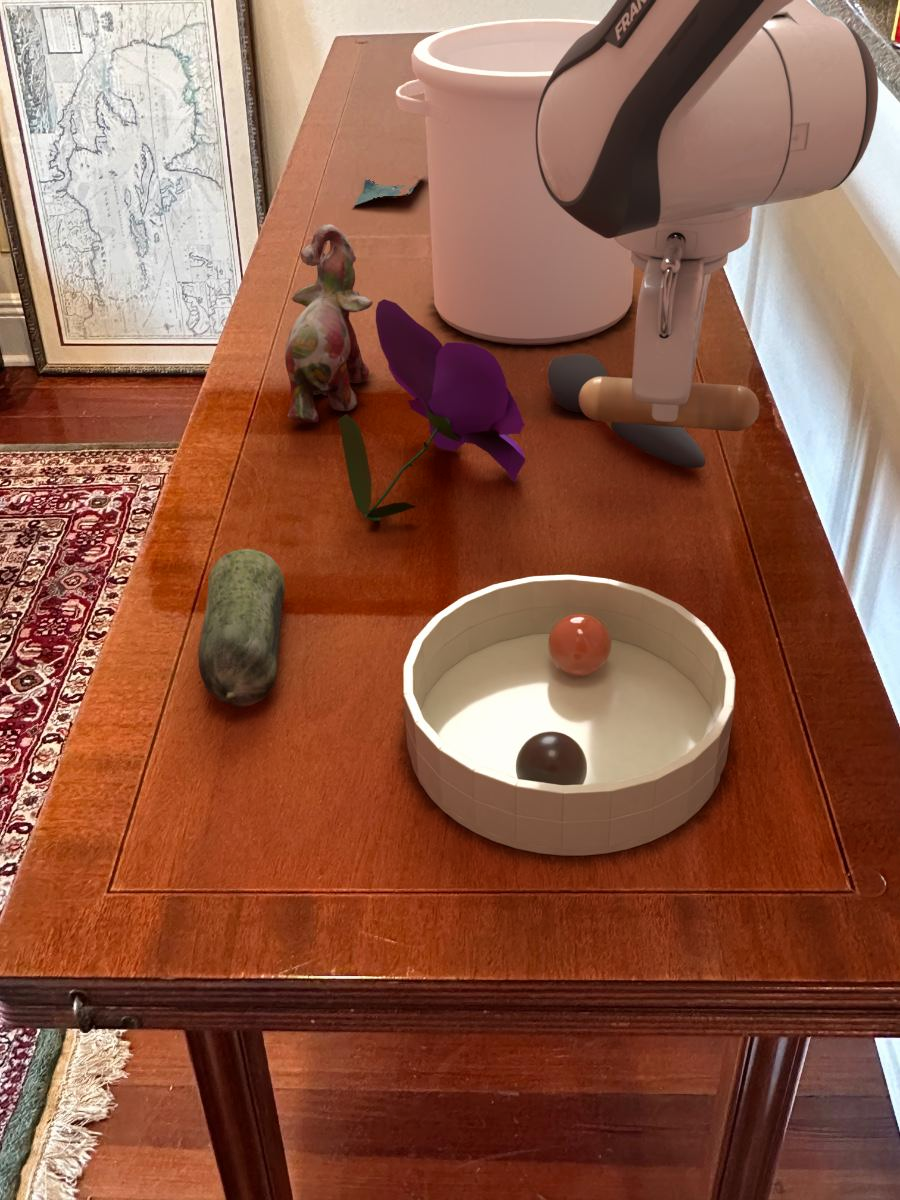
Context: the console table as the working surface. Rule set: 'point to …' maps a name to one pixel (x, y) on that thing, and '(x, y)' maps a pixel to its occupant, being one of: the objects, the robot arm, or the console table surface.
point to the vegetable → (241, 627)
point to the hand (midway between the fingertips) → (668, 401)
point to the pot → (506, 191)
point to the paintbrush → (653, 439)
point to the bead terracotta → (579, 644)
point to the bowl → (568, 714)
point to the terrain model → (378, 191)
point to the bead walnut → (552, 760)
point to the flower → (438, 402)
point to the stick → (701, 411)
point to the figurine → (326, 330)
